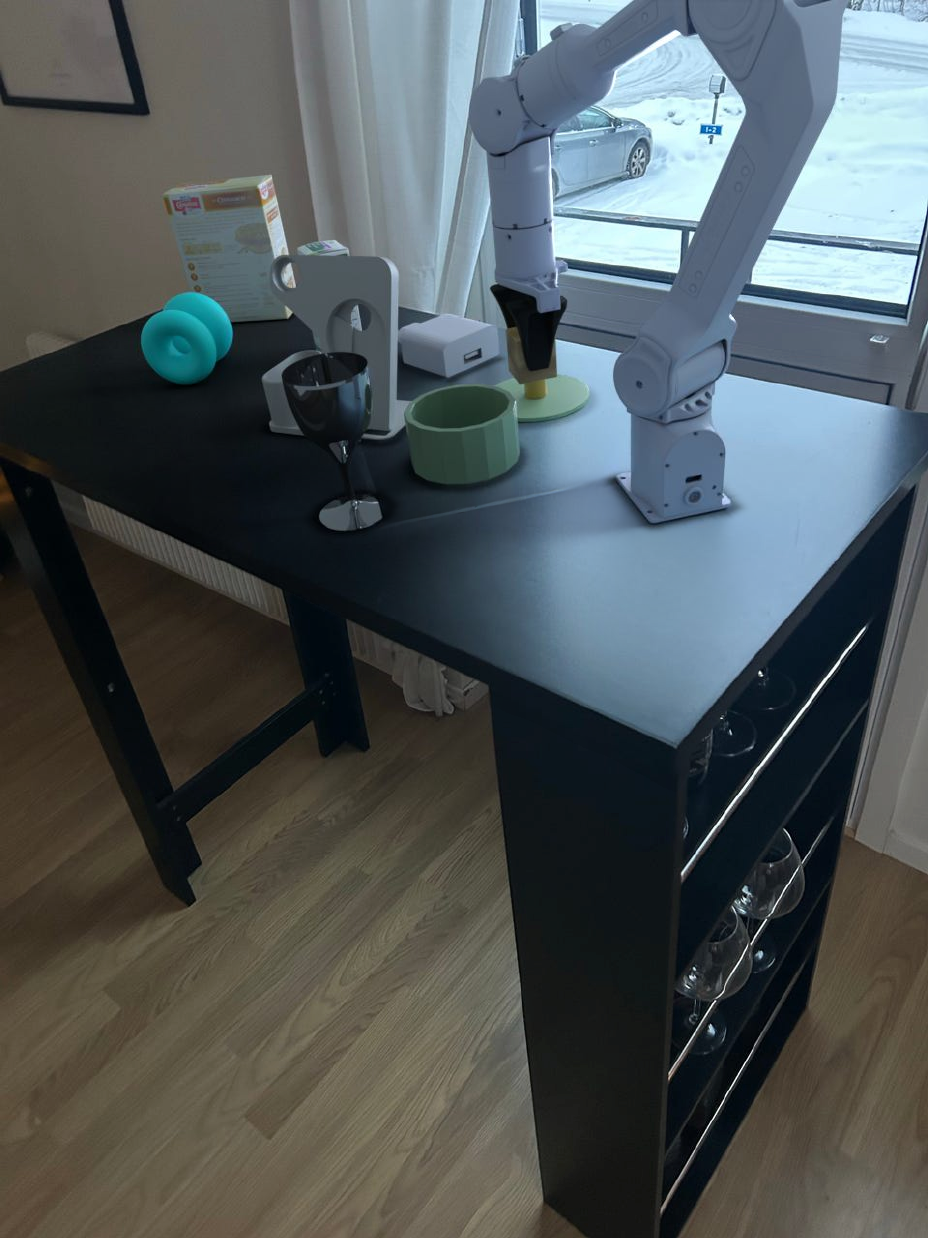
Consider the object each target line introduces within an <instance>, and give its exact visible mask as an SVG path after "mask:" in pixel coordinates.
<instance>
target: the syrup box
mask: <svg viewBox="0 0 928 1238" xmlns="http://www.w3.org/2000/svg"><path fill="white" fill-rule="evenodd" d="M296 253H297V255H328V256H350V250H349V248H348V247H346V246H344V245H343V244H342V243H340V242H339V241H337V240H336V239H331V240H320V241H315V242H311V243H306V244H303V245H301V246H298V247H296ZM351 319H352V323H353V325H354V326H355V328H357V329H358V330H361V331H363V329H362V322H361V317H360V311H359V305H357V306H356V307H355V308H354V309H353V311H352V315H351ZM311 331H312V330H311ZM312 336H313V341H314V344H315V345H314V346H315V351H319V352H321V342H320V339H319V337H318V336H317V334H316V333H314V332H313V331H312Z"/></svg>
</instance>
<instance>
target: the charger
mask: <svg viewBox="0 0 928 1238" xmlns="http://www.w3.org/2000/svg"><path fill="white" fill-rule="evenodd" d="M499 342H500V341H499V332H498V327H497V326H496V325H493V324H490V323H486V322H483V321H482V322H481V321H478V320H474V319H470V318H466V317H463V316H459V315H455V314H453V313H444V314H441V315H439V316H436V317H433V318H431V319H428V320H426V321H423V322H421V323H419V322H413V323H410V324H407V325H404V326H403V327H401V328H400V329H398V344H400V347H401V354H402V361H403V363H404V364H406V365H409V366H412V367H415V368H418V369H421V370H424V371H427V372H430V373H433V374H434V375H438V376H441V377H444V378H446V379H448V378H451V377H453V376H455V375H457V374H459V373H462V372H464V371H467V370H469V369H471V368H473V367H476V366H478V365H480V364H482V363H484V362H486V361H488V360H491V359H493V358H495V357H497V356H499V355H500V343H499Z"/></svg>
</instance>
